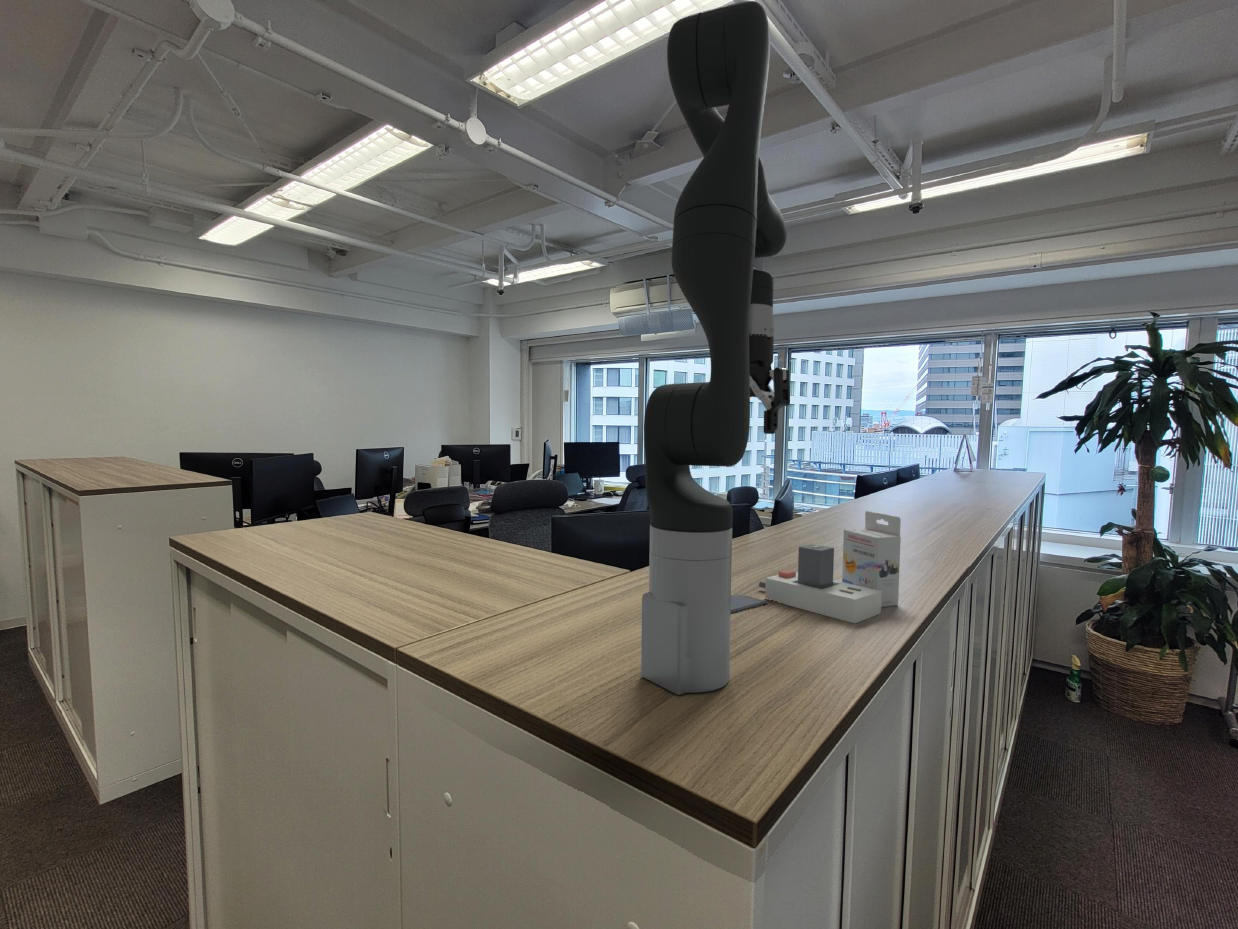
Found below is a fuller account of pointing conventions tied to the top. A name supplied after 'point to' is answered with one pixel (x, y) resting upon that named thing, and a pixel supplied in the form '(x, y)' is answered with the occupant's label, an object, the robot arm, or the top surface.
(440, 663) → the top surface
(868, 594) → the power strip
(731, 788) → the top surface
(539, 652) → the top surface
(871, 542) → the ink box
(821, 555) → the charger
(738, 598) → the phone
